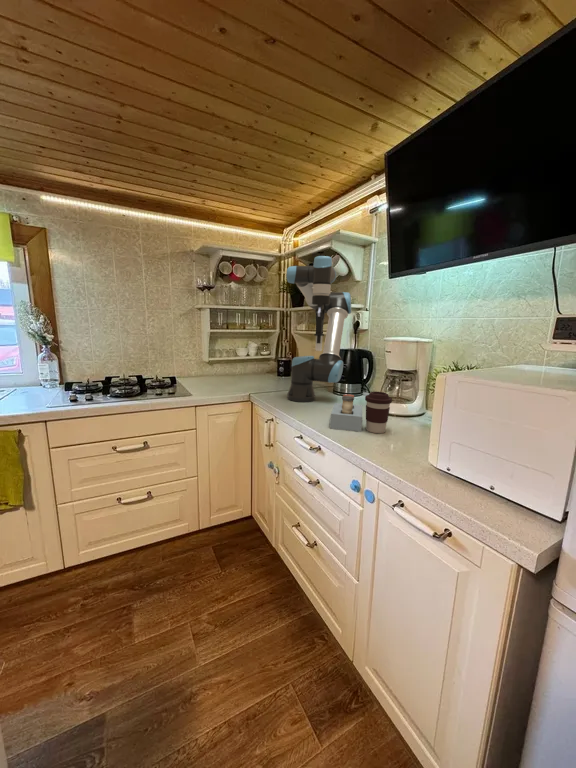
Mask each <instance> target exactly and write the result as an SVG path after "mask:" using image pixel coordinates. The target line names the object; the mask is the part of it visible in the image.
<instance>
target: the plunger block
mask: <svg viewBox="0 0 576 768" xmlns="http://www.w3.org/2000/svg"><path fill="white" fill-rule="evenodd" d="M329 421H330V422H329V429H330V430H331V429H333V430H340V431H341V430H342V431H348V432H349V431H351V432H358V433H359V432H360V433H361V432H362V425H363V405H362V404H361V405H360V404H353V409H352V414H342V403H337V402H334V404H333V406H332V410H331V413H330V420H329Z"/></svg>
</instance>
